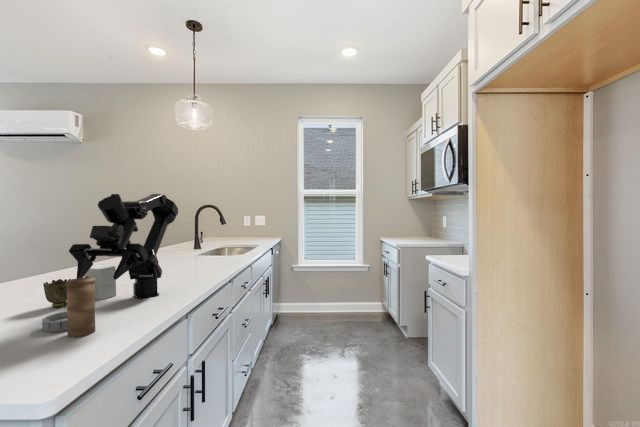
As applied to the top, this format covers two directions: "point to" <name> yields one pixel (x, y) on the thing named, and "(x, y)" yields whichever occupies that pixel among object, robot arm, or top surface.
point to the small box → (103, 281)
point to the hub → (55, 322)
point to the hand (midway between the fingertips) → (96, 278)
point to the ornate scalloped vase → (56, 293)
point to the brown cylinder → (81, 306)
